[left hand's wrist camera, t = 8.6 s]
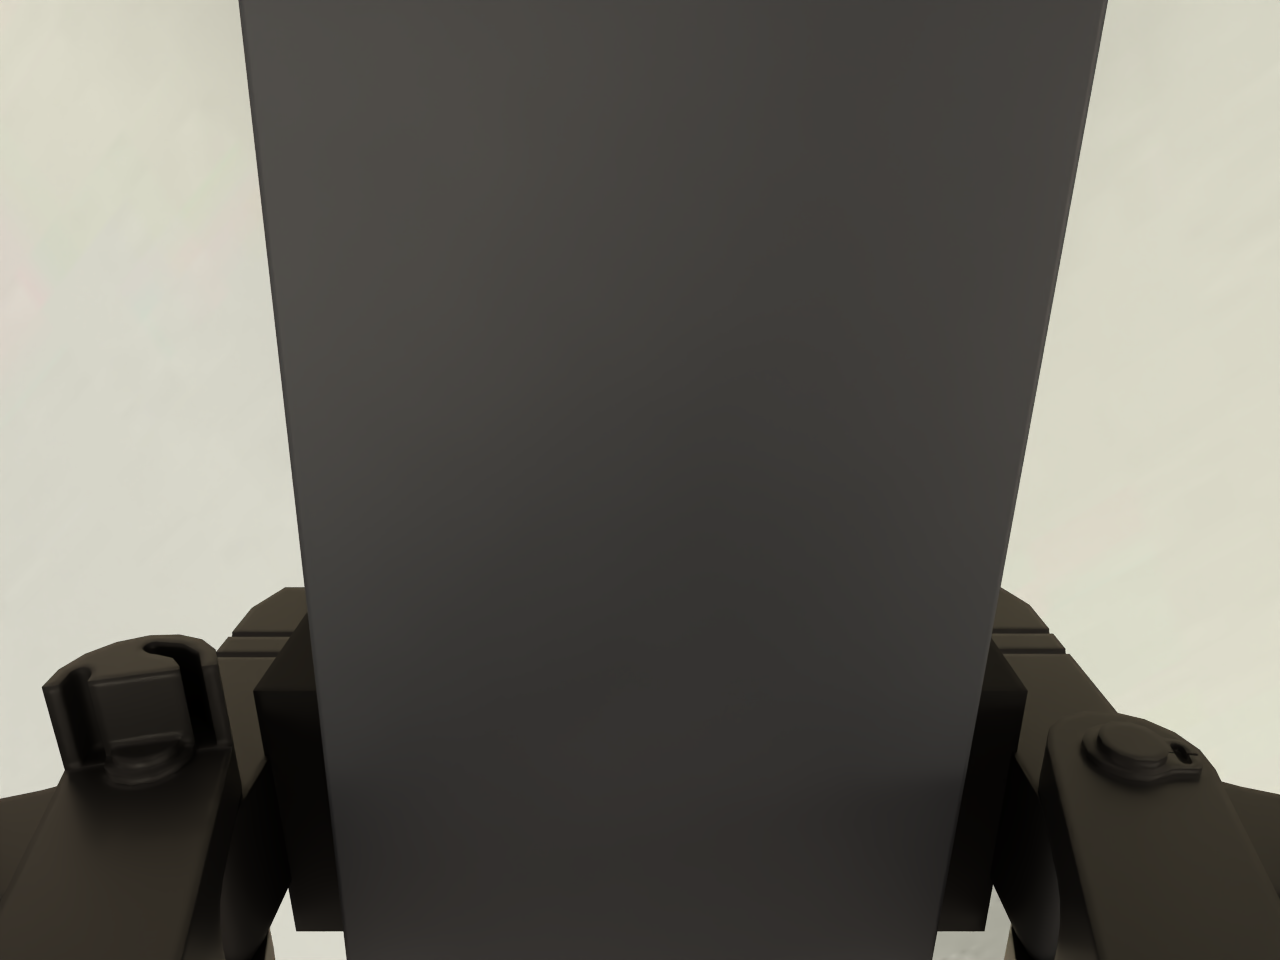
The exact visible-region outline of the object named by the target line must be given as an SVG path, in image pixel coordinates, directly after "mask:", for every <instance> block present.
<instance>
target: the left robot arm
mask: <svg viewBox="0 0 1280 960" xmlns="http://www.w3.org/2000/svg"><path fill="white" fill-rule="evenodd" d="M42 690H43V693H44V697H45V701H46V704H47V708H48V711H49V715H50V718H51V722H52V726H53V729H54V733H55V736H56V740H57V744H58V747H59V751H60V754H61V758H62V761H63V765H64V769H65V771H64V773H63V775H62V777H61V779H60V781H59V783H58V785H57V786H56V787H53V788H49V789H45V790H41V791H37V792H32V793H27V794H22V795H17V796H12V797H7V798H2V799H0V960H275V955H274V947H273V942H272V937H271V932H270V926H271V924H272V922H273V919H274V917H275V915H276V913H277V911H278V909H279V906H280V904H281V902H282V900H283V898H284V896H285V894H286V891H287V889H288V888H289V894H290V899H291V905H292V910H293V916H294V921H295V927H296V931H343V922H342V913H341V904H340V895H339V887H338V878H337V869H336V860H335V851H334V842H333V833H332V825H331V816H330V807H329V798H328V789H327V780H326V771H325V762H324V754H323V745H322V736H321V727H320V718H319V709H318V700H317V692H316V683H315V674H314V665H313V656H312V647H311V638H310V630H309V621H308V612H307V603H306V594H305V587H285V588H283V589H282V590H280V591H279V592H277V593H275V594H274V595H272V596H270V597H269V598H267V599H266V600H264V601H262V602H261V603H259V604H257V605H256V606H254V607H253V608H251V610H250V611H249V612H248V613H247V615H246V616H245V617H244V618H243V619H242V621H241V622H240V623H239V624H238V626H237V627H236V628H235V629H234V631H233V632H232V637H228V638H227V639H226V640H225V642H224V643H223V644H222V645H221V647H220V648H219V649H218V650H217V652H216V650H215V649H214V648H213V647H211V646H210V645H209V644H208V643H206V642H205V641H204V640H202V639H198V638H193V637H189V636H184V635H149V636H144V637H140V638H135V639H130V640H125V641H120V642H116V643H113V644H111V645H108V646H105V647H102V648H100V649H97V650H94V651H92V652H89V653H86V654H84V655H83V656H81V657H79V658H77V659H76V660H74V661H72V662H71V663H69V664H67V665H66V666H64V667H62V668H61V669H59V670H58V671H57V672H56V673H55V674H54V675H53V676H52V677H51V678H50V679H49V680H48V681H47V682H46V683H45V684H44V685H43V686H42ZM993 885H994V887H995V889H996V891H997V894H998V896H999V898H1000V900H1001V902H1002V904H1003V907H1004V909H1005V911H1006V913H1007V915H1008V917H1009V919H1010V922H1011V927H1010V932H1009V937H1008V942H1007V947H1006V952H1005V957H1004V960H1280V795H1279V794H1275V793H1270V792H1265V791H1260V790H1255V789H1250V788H1245V787H1240V786H1236V785H1233V784H1229V783H1225V782H1221V780H1220V778H1219V776H1218V774H1217V772H1216V770H1215V768H1214V767H1213V766H1212V764H1211V763H1210V762H1209V761H1208V759H1207V758H1206V757H1205V756H1204V754H1203V753H1202V752H1201V751H1200V750H1199V749H1198V748H1196V747H1195V746H1194V745H1192V744H1191V743H1189V742H1188V741H1186V740H1185V739H1184V738H1182V737H1181V736H1179V735H1178V734H1176V733H1175V732H1173V731H1170V730H1168V729H1166V728H1163V727H1161V726H1159V725H1156V724H1154V723H1152V722H1150V721H1147V720H1145V719H1141V718H1137V717H1133V716H1128V715H1124V714H1120V713H1117V712H1116V710H1115V709H1114V708H1113V707H1112V705H1111V704H1110V703H1109V702H1108V701H1107V699H1106V698H1105V697H1104V696H1103V694H1102V693H1101V692H1100V691H1099V689H1098V688H1097V687H1096V686H1095V685H1094V683H1093V682H1092V681H1091V680H1090V678H1089V677H1088V676H1087V675H1086V674H1085V672H1084V671H1083V670H1082V669H1081V667H1080V666H1079V665H1078V664H1077V662H1076V661H1075V660H1074V659H1073V658H1072V656H1071V655H1070V654H1066V652H1065V648H1064V647H1063V645H1062V644H1061V643H1060V642H1059V640H1058V639H1057V638H1056V637H1055V636H1054V634H1049V628H1048V627H1047V626H1046V624H1045V623H1044V622H1043V621H1042V620H1041V618H1040V617H1039V616H1038V615H1037V613H1036V612H1035V611H1034V610H1033V609H1032V607H1031V606H1030V605H1029V604H1027V603H1026V602H1024V601H1022V600H1021V599H1019V598H1017V597H1016V596H1014V595H1013V594H1011V593H1009V592H1008V591H1006V590H1004V589H1003V588H1001V587H1000V592H999V597H998V603H997V608H996V614H995V619H994V625H993V630H992V636H991V641H990V646H989V652H988V657H987V663H986V668H985V674H984V679H983V685H982V690H981V696H980V701H979V706H978V712H977V717H976V723H975V728H974V734H973V739H972V745H971V750H970V756H969V761H968V766H967V772H966V777H965V783H964V788H963V794H962V799H961V805H960V810H959V816H958V821H957V826H956V832H955V837H954V843H953V848H952V854H951V859H950V865H949V870H948V876H947V881H946V886H945V892H944V897H943V903H942V908H941V914H940V919H939V925H938V930H937V931H985V925H986V920H987V914H988V909H989V903H990V898H991V892H992V887H993Z"/></svg>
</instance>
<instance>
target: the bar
mask: <svg viewBox="0 0 1280 960" xmlns="http://www.w3.org/2000/svg"><path fill="white" fill-rule="evenodd" d="M1107 3H1108V0H239V9H240V18H241V27H242V36H243V44H244V53H245V62H246V71H247V80H248V89H249V98H250V107H251V115H252V124H253V133H254V142H255V151H256V160H257V169H258V177H259V186H260V195H261V204H262V213H263V222H264V231H265V239H266V248H267V257H268V266H269V275H270V284H271V293H272V302H273V310H274V319H275V328H276V337H277V346H278V355H279V364H280V372H281V381H282V390H283V399H284V408H285V417H286V426H287V434H288V443H289V452H290V461H291V470H292V479H293V488H294V497H295V505H296V514H297V523H298V532H299V541H300V550H301V559H302V567H303V576H304V585H305V594H306V603H307V612H308V621H309V630H310V638H311V647H312V656H313V665H314V674H315V683H316V692H317V700H318V709H319V718H320V727H321V736H322V745H323V754H324V762H325V771H326V780H327V789H328V798H329V807H330V816H331V825H332V833H333V842H334V851H335V860H336V869H337V878H338V887H339V895H340V904H341V913H342V922H343V931H344V940H345V949H346V957H347V960H932V957H933V952H934V946H935V941H936V936H937V930H938V925H939V919H940V914H941V908H942V903H943V897H944V892H945V886H946V881H947V876H948V870H949V865H950V859H951V854H952V848H953V843H954V837H955V832H956V826H957V821H958V816H959V810H960V805H961V799H962V794H963V788H964V783H965V777H966V772H967V766H968V761H969V756H970V750H971V745H972V739H973V734H974V728H975V723H976V717H977V712H978V706H979V701H980V696H981V690H982V685H983V679H984V674H985V668H986V663H987V657H988V652H989V646H990V641H991V636H992V630H993V625H994V619H995V614H996V608H997V603H998V597H999V592H1000V586H1001V581H1002V576H1003V570H1004V565H1005V559H1006V554H1007V548H1008V543H1009V537H1010V532H1011V526H1012V521H1013V516H1014V510H1015V505H1016V499H1017V494H1018V488H1019V483H1020V477H1021V472H1022V466H1023V461H1024V456H1025V450H1026V445H1027V439H1028V434H1029V428H1030V423H1031V417H1032V412H1033V406H1034V401H1035V396H1036V390H1037V385H1038V379H1039V374H1040V368H1041V363H1042V357H1043V352H1044V346H1045V341H1046V336H1047V330H1048V325H1049V319H1050V314H1051V308H1052V303H1053V297H1054V292H1055V286H1056V281H1057V276H1058V270H1059V265H1060V259H1061V254H1062V248H1063V243H1064V237H1065V232H1066V226H1067V221H1068V216H1069V210H1070V205H1071V199H1072V194H1073V188H1074V183H1075V177H1076V172H1077V166H1078V161H1079V156H1080V150H1081V145H1082V139H1083V134H1084V128H1085V123H1086V117H1087V112H1088V106H1089V101H1090V96H1091V90H1092V85H1093V79H1094V74H1095V68H1096V63H1097V57H1098V52H1099V46H1100V41H1101V36H1102V30H1103V25H1104V19H1105V14H1106V8H1107Z"/></svg>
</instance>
